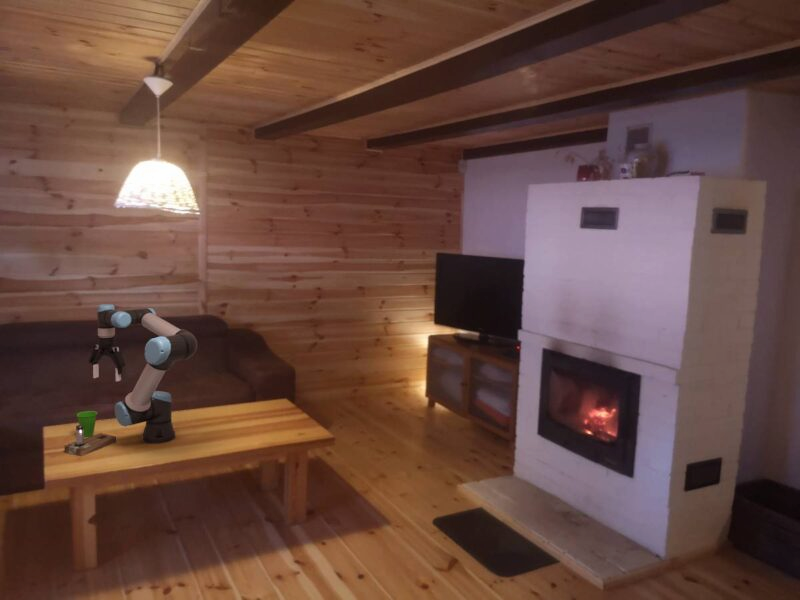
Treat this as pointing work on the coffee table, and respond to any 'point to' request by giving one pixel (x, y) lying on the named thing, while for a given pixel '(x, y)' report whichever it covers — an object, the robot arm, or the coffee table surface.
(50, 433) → the coffee table surface
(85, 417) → the cup
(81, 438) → the lock pin
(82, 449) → the mount board
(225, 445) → the coffee table surface
